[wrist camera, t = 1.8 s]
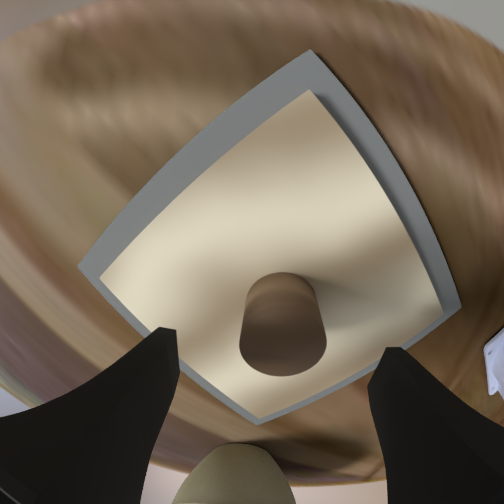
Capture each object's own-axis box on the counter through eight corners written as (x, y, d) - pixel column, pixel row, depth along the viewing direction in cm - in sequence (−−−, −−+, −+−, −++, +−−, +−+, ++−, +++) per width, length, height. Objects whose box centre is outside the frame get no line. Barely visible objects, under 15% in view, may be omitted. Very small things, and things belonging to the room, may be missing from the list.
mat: (458, 303, 13) (461, 306, 13) (256, 421, 18) (256, 425, 17) (309, 51, 9) (310, 49, 9) (80, 263, 14) (77, 266, 14)
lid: (437, 306, 13) (469, 346, 9) (259, 409, 17) (256, 456, 13) (306, 92, 10) (323, 68, 6) (106, 271, 13) (66, 307, 10)
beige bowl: (318, 441, 19) (325, 513, 12) (268, 478, 22) (265, 533, 16) (203, 414, 18) (184, 496, 11) (177, 457, 21) (162, 514, 15)
